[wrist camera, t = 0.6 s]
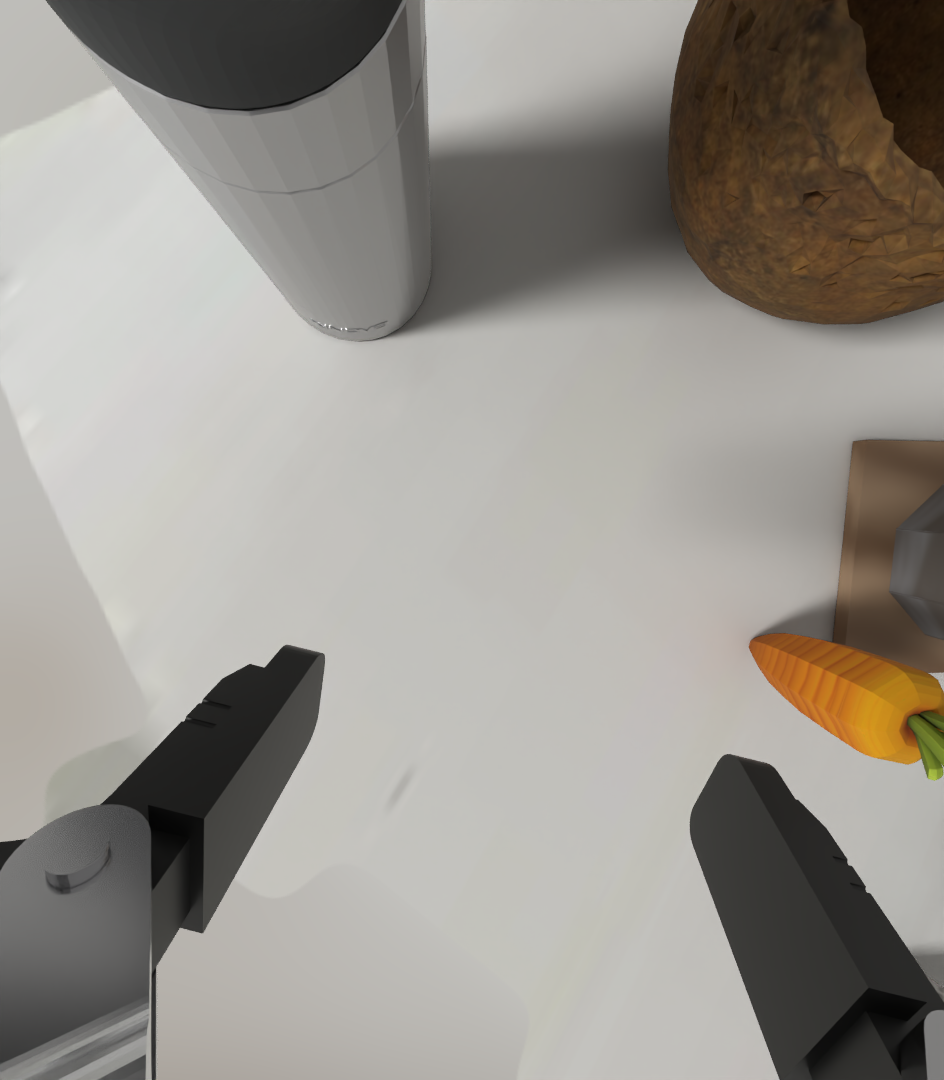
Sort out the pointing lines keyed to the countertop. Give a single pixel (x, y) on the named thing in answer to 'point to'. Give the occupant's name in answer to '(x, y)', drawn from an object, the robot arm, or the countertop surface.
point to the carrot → (859, 697)
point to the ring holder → (894, 553)
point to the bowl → (813, 154)
